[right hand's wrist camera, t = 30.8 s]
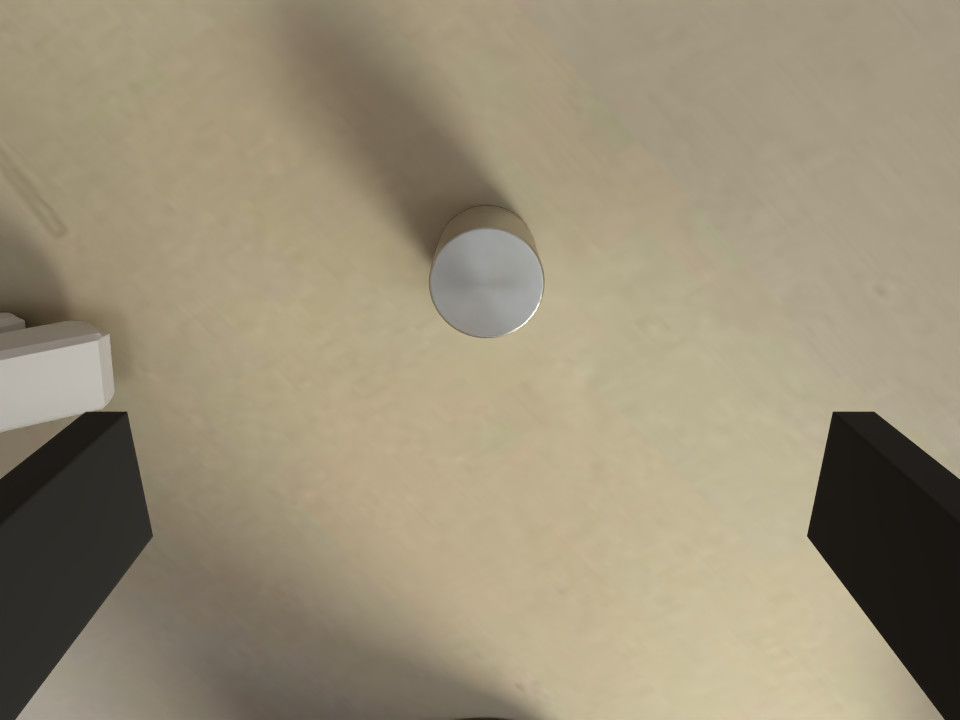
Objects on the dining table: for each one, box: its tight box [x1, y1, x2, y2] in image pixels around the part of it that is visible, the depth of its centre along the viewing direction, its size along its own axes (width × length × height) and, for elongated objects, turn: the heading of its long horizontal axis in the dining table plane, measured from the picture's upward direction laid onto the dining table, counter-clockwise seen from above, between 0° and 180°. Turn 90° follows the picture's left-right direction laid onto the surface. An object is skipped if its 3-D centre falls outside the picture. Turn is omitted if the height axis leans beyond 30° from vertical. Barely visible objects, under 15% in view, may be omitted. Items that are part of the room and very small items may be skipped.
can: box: [429, 206, 544, 338], centre depth 27 cm, size 4×4×5 cm
